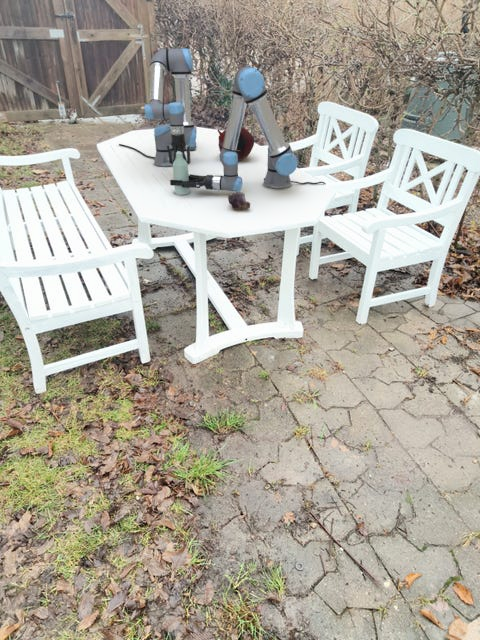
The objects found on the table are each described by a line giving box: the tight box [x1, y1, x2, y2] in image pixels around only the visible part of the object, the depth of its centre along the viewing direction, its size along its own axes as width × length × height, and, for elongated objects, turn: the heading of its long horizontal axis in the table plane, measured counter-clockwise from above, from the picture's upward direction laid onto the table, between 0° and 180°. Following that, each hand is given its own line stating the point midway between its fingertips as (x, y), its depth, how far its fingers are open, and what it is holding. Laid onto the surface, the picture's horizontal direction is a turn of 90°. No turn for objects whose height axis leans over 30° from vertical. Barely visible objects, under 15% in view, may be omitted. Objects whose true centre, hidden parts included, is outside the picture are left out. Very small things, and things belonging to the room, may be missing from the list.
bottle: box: [172, 151, 191, 196], centre depth 241 cm, size 8×8×21 cm
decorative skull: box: [217, 126, 255, 162], centre depth 297 cm, size 21×24×25 cm
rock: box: [227, 191, 251, 211], centre depth 224 cm, size 12×9×10 cm
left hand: (181, 176), depth 261 cm, fingers closed on cap, 4 cm apart
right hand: (173, 180), depth 244 cm, fingers closed on bottle, 8 cm apart
